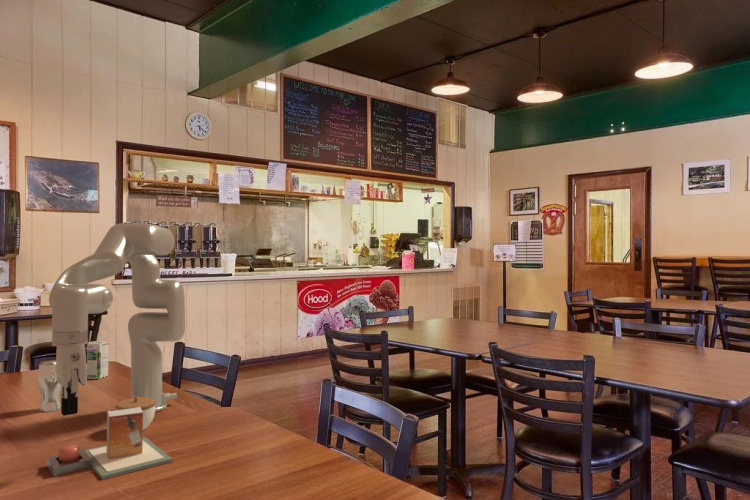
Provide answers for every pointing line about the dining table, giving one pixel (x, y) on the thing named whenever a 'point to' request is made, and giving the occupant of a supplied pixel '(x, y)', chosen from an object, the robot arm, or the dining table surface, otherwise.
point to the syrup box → (97, 359)
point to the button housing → (68, 464)
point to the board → (126, 460)
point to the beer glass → (49, 387)
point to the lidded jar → (144, 403)
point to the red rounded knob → (69, 453)
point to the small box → (124, 432)
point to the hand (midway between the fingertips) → (69, 413)
